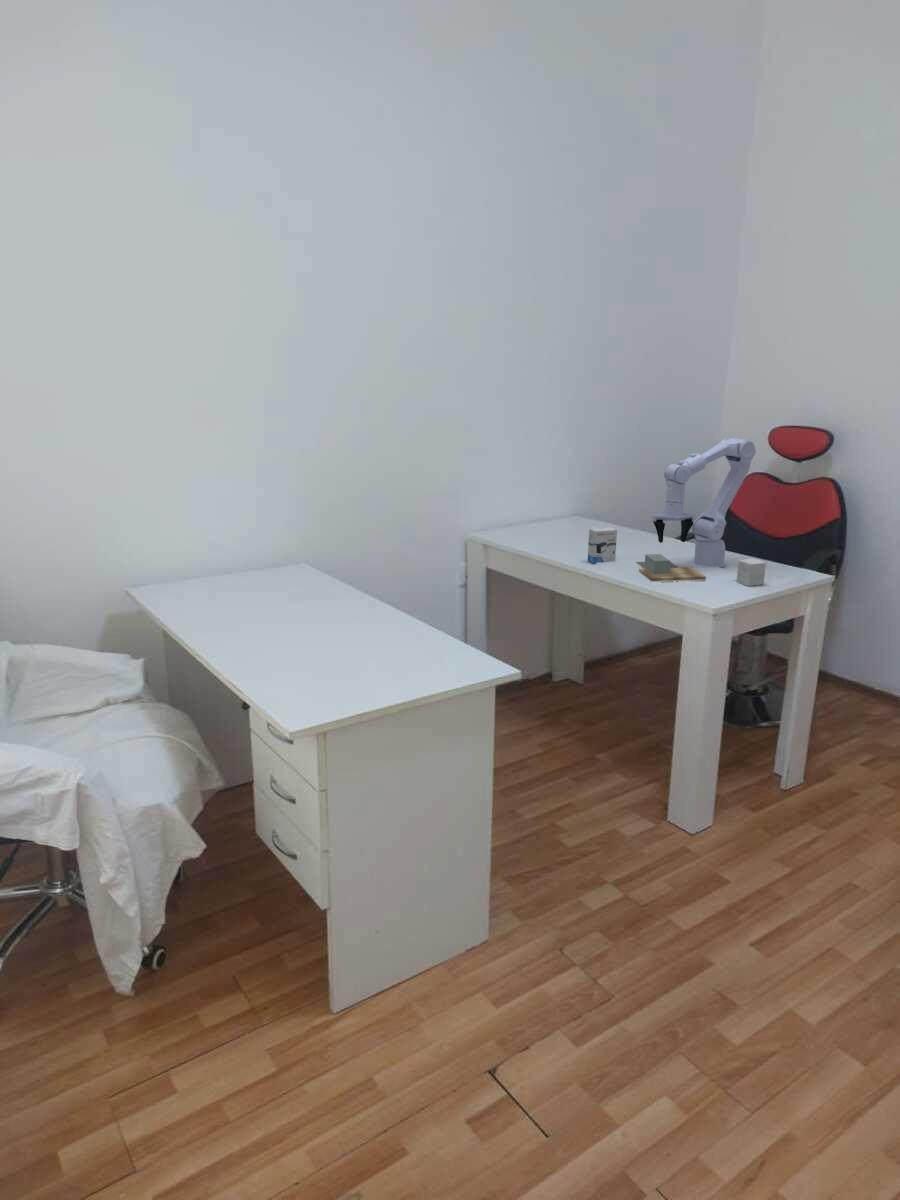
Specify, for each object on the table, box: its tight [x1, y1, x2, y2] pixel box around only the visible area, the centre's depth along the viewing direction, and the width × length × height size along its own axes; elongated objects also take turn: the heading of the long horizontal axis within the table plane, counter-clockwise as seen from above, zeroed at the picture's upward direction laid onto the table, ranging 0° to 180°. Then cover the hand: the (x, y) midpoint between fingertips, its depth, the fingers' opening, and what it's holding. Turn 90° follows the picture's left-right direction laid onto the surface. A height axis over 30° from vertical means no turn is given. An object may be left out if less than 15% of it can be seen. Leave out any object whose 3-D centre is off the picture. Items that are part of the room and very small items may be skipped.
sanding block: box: [643, 553, 671, 576], centre depth 284 cm, size 5×9×5 cm, turn 7°
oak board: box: [638, 566, 707, 583], centre depth 285 cm, size 18×12×2 cm, turn 97°
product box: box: [736, 557, 767, 587], centre depth 278 cm, size 6×6×7 cm
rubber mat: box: [635, 561, 680, 569], centre depth 298 cm, size 12×11×1 cm
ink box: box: [587, 526, 618, 565], centre depth 303 cm, size 8×5×12 cm, turn 105°
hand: (671, 541), depth 293 cm, fingers open, 7 cm apart
